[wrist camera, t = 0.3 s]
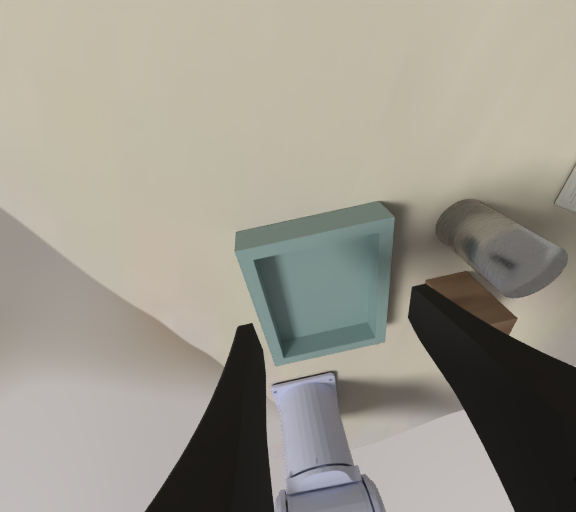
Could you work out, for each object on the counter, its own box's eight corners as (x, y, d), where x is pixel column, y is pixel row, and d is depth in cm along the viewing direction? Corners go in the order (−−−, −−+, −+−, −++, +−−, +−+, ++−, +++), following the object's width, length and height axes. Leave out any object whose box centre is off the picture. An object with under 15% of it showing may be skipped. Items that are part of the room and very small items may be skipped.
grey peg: (476, 236, 23) (551, 290, 18) (432, 246, 23) (492, 303, 18) (489, 194, 21) (580, 240, 15) (440, 204, 21) (512, 255, 15)
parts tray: (374, 321, 28) (384, 342, 26) (273, 344, 28) (275, 366, 26) (378, 201, 20) (394, 216, 18) (235, 232, 20) (234, 251, 18)
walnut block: (457, 299, 28) (502, 348, 23) (420, 307, 28) (457, 358, 23) (466, 271, 26) (517, 318, 21) (425, 279, 26) (468, 329, 21)
